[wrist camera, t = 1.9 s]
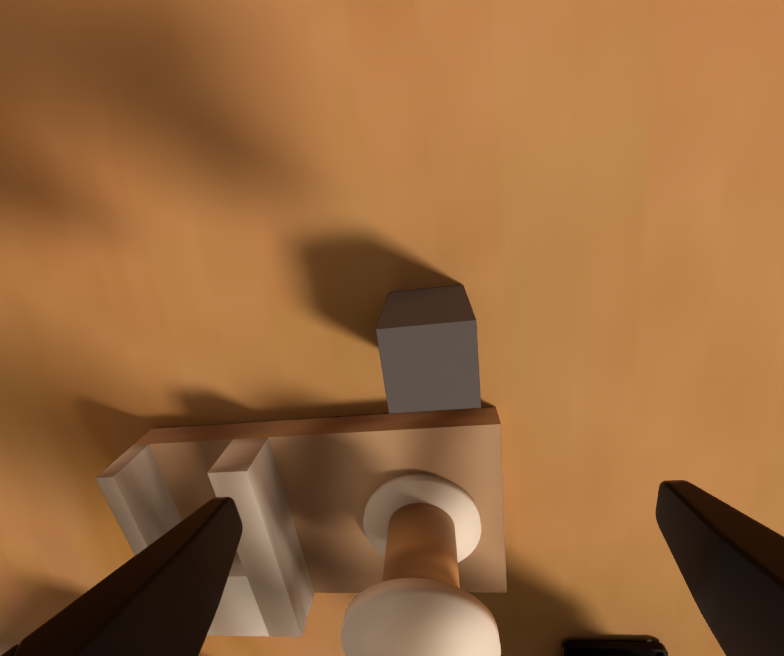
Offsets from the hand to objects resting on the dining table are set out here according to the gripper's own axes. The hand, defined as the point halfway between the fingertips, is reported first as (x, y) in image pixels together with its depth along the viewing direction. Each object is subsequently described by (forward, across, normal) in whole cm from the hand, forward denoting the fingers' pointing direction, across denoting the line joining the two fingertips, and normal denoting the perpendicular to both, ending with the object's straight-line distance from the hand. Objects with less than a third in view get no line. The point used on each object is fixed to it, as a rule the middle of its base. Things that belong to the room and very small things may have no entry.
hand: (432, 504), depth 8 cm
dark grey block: (+11, 0, 0) cm, 11 cm away
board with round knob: (+11, +7, +11) cm, 17 cm away
